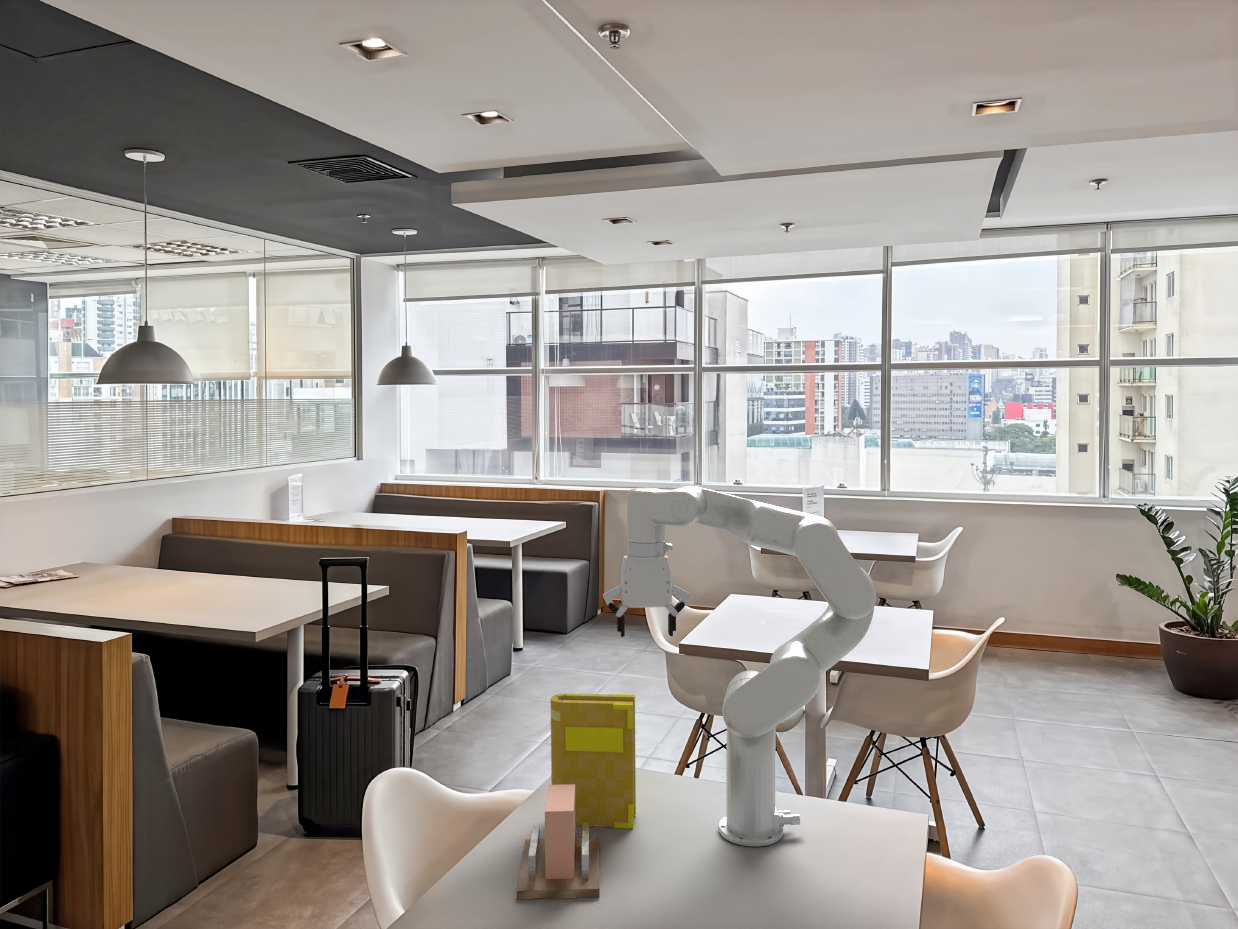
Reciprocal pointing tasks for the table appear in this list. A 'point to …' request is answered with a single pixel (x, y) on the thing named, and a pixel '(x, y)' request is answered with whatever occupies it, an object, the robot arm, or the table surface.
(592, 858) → the shelf board
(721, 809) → the table surface
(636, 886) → the table surface
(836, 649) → the robot arm
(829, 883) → the table surface
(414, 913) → the table surface
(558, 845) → the small book
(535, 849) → the bookends
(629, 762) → the book
